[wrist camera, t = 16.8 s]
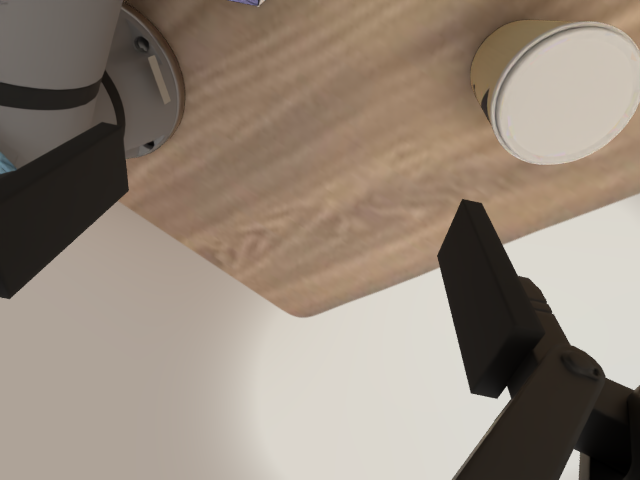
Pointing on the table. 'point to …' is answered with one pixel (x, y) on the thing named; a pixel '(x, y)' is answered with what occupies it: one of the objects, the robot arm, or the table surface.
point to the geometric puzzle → (250, 2)
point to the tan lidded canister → (556, 87)
